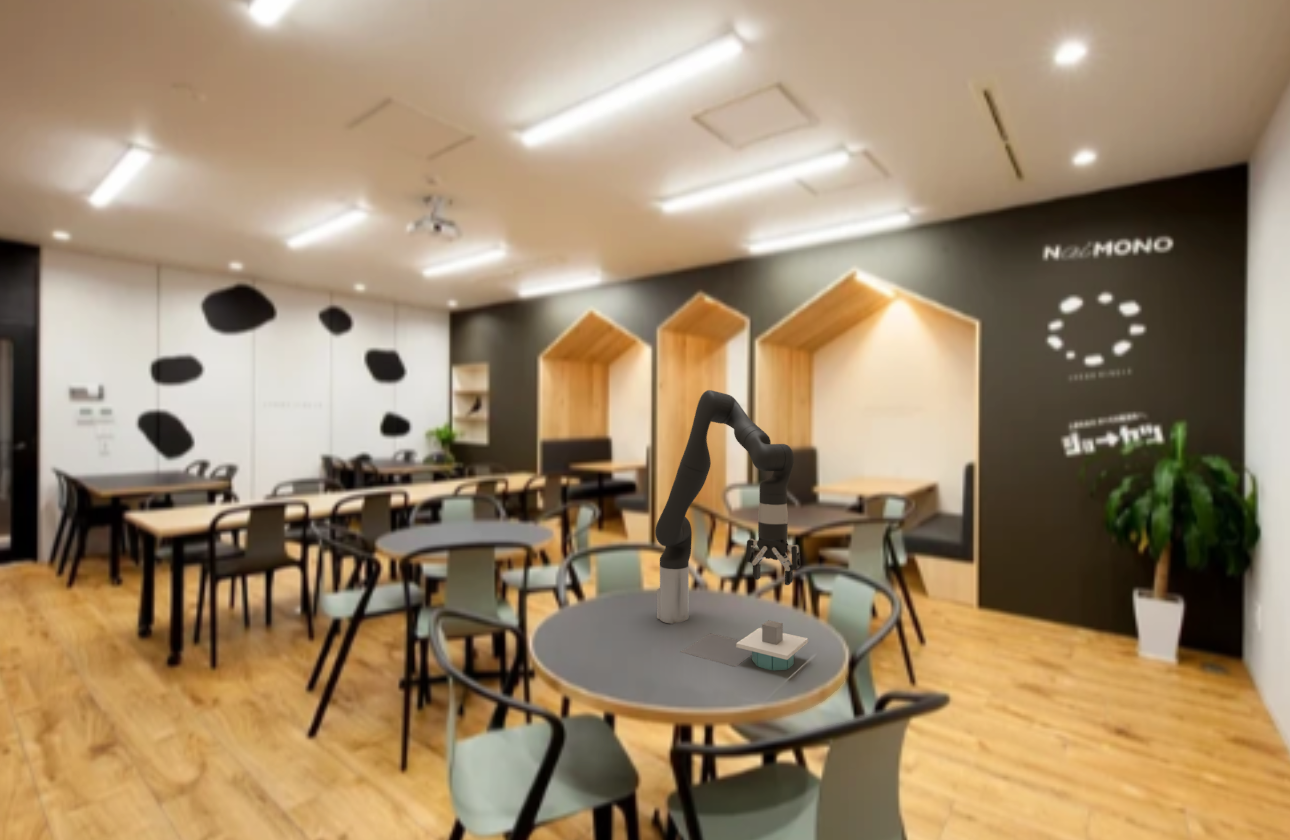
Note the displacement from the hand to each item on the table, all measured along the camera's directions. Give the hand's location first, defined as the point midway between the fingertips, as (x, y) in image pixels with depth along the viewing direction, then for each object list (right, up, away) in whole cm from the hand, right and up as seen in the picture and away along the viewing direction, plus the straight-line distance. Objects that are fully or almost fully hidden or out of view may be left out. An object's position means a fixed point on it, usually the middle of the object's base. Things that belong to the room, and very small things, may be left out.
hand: (772, 581), depth 160 cm
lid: (0, -17, 0) cm, 17 cm away
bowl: (0, -22, 0) cm, 22 cm away
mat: (-12, -22, +9) cm, 26 cm away
